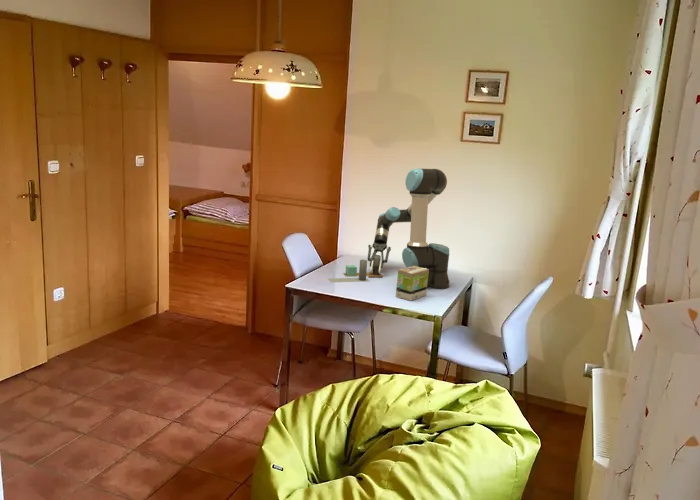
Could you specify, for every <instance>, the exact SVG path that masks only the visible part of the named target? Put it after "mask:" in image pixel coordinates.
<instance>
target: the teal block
mask: <svg viewBox="0 0 700 500" xmlns="http://www.w3.org/2000/svg"><path fill="white" fill-rule="evenodd" d="M357 271H358V267H357V266H356V265H355V264H346V265H345V273H346V275H347V276H356V275H357V273H358V272H357Z"/></svg>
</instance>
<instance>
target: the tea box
mask: <svg viewBox="0 0 700 500" xmlns="http://www.w3.org/2000/svg"><path fill="white" fill-rule="evenodd" d="M428 275H429V269H427V268H422V267H418V266H411V267H405V268H404V267H403V268H400V269H398V270H397V278H396V280H397V281H396V287H395V289H396V290H395V297H396V298H400V299H403V300H406V301H410V302H412V301H414V300H416V299H419V298H422V297H425V296H427V292H428V287H427V283H428Z"/></svg>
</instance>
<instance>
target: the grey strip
mask: <svg viewBox="0 0 700 500" xmlns="http://www.w3.org/2000/svg"><path fill="white" fill-rule="evenodd" d="M367 268H368V259H360V260H359V268H358V269H359V271H358V273H359V276H358V277H342V278H341V277H339V278H338V277H337V278H336V277H332V278H331V277H330V278H327V280H328V281H329V282H330V283H357V282H361V283H362V282H370V280H369V279H368V278H367V276H366V273H367Z"/></svg>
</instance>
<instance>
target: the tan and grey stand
mask: <svg viewBox="0 0 700 500" xmlns="http://www.w3.org/2000/svg"><path fill="white" fill-rule="evenodd" d="M381 260H382V258H381V254H376V255H374V259H373V270H372V273H371V272H366V277H367V278H369V279H375V278H376V279H378V278H379V279H380V278H384V276H383V275H382V274H381V272H380V273H379V266H380V261H381ZM342 274H343V276H344V277H345V278H358V277H359V272H357V275H356V276H347V275H346V272H342Z"/></svg>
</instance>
